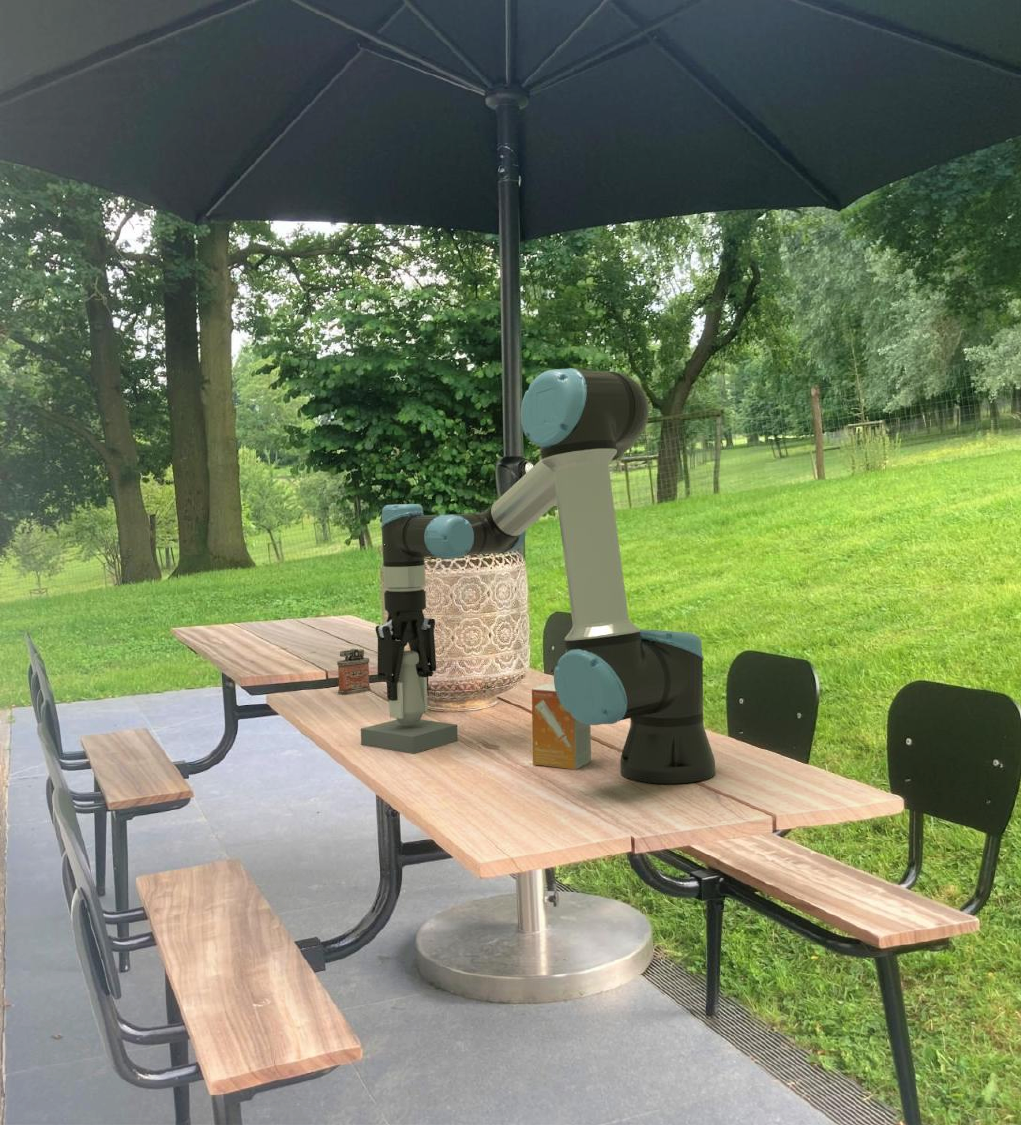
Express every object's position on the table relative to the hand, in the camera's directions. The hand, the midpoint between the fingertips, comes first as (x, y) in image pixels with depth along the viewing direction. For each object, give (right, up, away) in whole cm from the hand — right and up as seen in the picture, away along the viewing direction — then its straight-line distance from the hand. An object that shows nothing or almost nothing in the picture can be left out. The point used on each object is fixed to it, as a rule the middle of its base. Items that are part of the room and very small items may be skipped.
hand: (409, 714), depth 217 cm
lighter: (-17, -2, +55) cm, 57 cm away
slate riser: (0, -5, 0) cm, 5 cm away
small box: (+27, -6, -18) cm, 33 cm away
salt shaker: (0, -2, 0) cm, 2 cm away
